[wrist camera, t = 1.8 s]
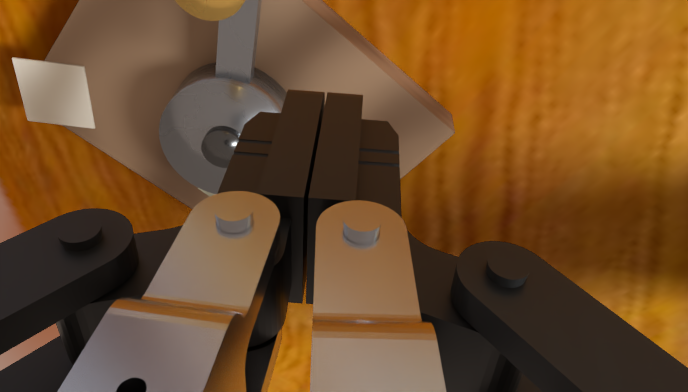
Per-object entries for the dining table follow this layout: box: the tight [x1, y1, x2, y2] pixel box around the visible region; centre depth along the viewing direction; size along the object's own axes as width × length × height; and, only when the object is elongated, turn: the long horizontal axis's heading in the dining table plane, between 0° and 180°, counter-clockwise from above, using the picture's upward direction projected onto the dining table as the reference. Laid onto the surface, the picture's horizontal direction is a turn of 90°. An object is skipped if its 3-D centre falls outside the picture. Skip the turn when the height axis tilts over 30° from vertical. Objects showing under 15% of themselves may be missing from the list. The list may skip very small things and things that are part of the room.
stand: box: [12, 0, 455, 209], centre depth 31 cm, size 19×15×3 cm
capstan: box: [159, 0, 287, 195], centre depth 26 cm, size 18×6×8 cm, turn 169°
